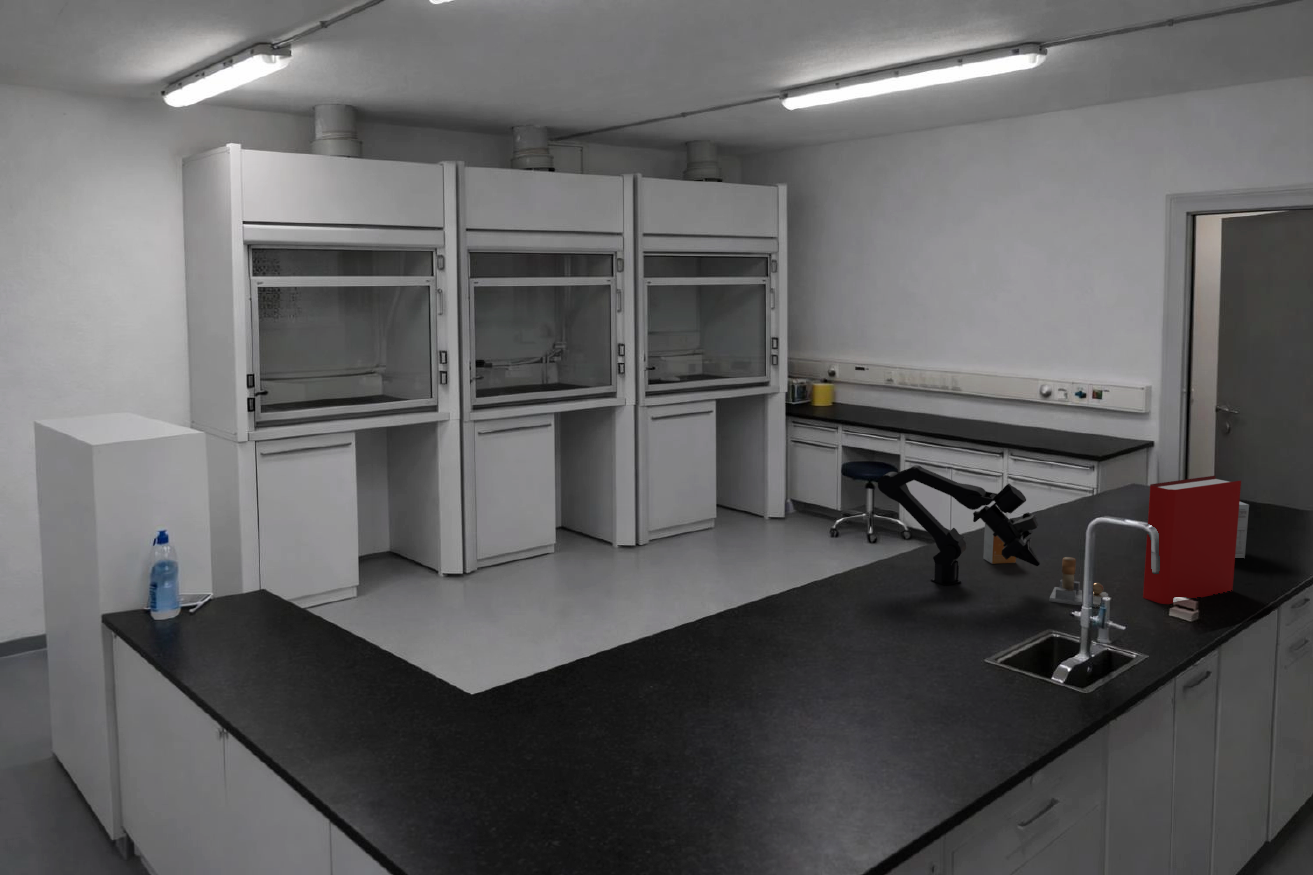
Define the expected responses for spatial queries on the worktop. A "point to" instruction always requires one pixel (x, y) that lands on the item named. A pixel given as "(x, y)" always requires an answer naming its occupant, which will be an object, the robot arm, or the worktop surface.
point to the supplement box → (1242, 530)
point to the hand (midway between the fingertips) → (1038, 565)
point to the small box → (994, 548)
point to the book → (1192, 538)
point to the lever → (1068, 572)
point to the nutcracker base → (1076, 594)
